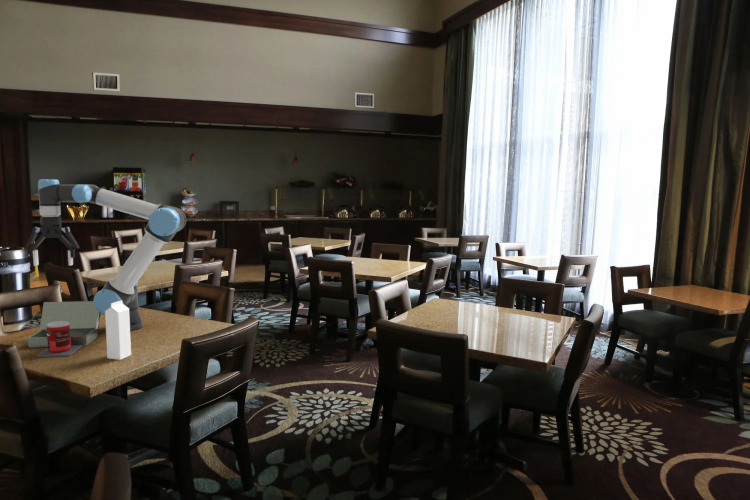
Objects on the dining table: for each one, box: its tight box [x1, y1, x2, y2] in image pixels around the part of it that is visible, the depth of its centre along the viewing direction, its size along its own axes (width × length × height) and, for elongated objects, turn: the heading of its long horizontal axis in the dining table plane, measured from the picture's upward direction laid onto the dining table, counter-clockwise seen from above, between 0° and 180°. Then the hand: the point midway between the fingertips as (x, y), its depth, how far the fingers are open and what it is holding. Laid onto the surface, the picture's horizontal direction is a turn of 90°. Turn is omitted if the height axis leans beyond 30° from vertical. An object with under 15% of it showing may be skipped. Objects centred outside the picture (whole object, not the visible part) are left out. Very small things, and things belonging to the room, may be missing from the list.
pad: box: [35, 345, 83, 358], centre depth 201 cm, size 12×12×1 cm
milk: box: [104, 300, 132, 361], centre depth 195 cm, size 6×6×22 cm
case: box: [27, 300, 102, 349], centre depth 215 cm, size 24×17×15 cm
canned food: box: [46, 321, 71, 353], centre depth 200 cm, size 8×8×11 cm
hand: (53, 265), depth 216 cm, fingers open, 13 cm apart
